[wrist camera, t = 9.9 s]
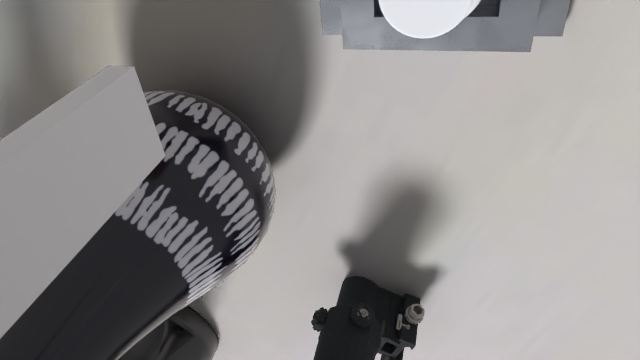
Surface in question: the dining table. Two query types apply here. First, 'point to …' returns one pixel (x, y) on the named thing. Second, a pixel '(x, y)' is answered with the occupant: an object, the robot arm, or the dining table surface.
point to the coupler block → (469, 35)
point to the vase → (157, 239)
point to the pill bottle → (426, 15)
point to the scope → (367, 323)
